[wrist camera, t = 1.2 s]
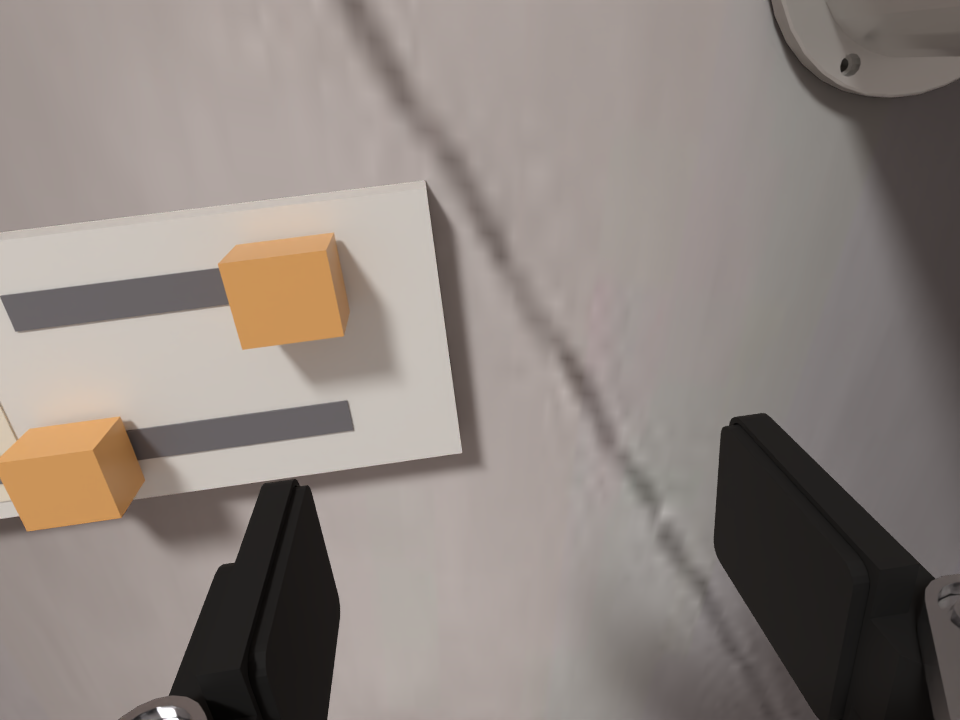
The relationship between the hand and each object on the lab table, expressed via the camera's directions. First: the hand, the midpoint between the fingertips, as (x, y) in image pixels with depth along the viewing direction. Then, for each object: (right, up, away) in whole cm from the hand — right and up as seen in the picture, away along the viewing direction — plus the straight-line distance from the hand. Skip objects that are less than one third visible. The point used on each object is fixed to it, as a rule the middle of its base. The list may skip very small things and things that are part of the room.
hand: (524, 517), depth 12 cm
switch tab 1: (-19, -1, +18) cm, 26 cm away
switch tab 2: (-9, +6, +15) cm, 19 cm away
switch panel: (-15, +3, +19) cm, 25 cm away
